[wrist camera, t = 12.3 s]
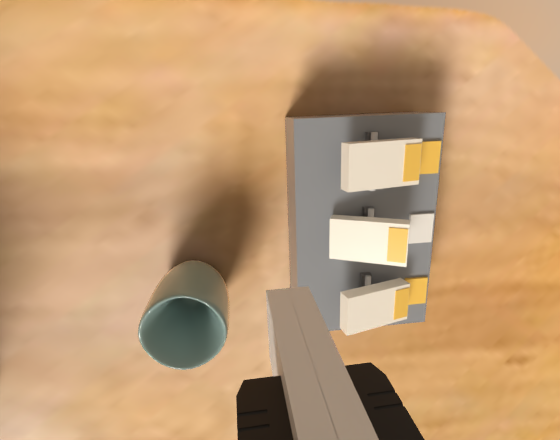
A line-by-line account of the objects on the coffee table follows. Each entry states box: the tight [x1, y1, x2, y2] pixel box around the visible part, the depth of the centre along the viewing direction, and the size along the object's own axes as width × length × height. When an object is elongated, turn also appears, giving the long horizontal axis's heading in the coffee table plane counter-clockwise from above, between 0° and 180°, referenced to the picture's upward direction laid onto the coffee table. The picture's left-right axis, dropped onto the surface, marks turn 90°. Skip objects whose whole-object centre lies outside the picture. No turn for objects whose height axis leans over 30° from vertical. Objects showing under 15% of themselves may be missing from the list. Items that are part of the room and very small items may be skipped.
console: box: [285, 112, 446, 331], centre depth 38 cm, size 14×22×7 cm, turn 2°
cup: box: [138, 260, 229, 370], centre depth 37 cm, size 8×8×10 cm
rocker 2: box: [329, 215, 410, 267], centre depth 33 cm, size 7×4×2 cm, turn 93°
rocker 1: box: [341, 138, 422, 192], centre depth 31 cm, size 7×4×2 cm, turn 92°
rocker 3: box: [340, 278, 410, 336], centre depth 35 cm, size 7×4×2 cm, turn 91°
